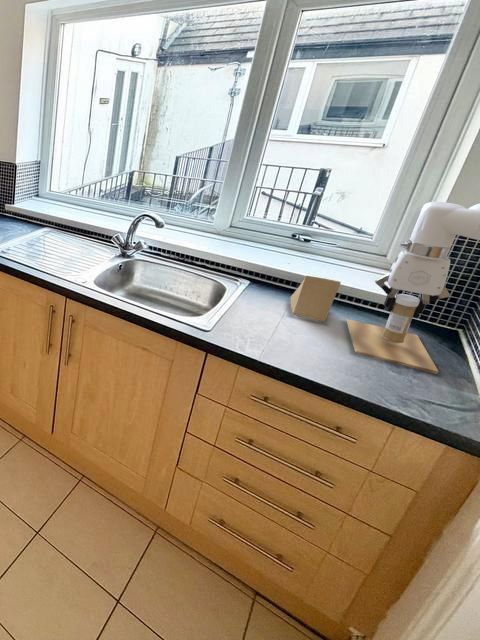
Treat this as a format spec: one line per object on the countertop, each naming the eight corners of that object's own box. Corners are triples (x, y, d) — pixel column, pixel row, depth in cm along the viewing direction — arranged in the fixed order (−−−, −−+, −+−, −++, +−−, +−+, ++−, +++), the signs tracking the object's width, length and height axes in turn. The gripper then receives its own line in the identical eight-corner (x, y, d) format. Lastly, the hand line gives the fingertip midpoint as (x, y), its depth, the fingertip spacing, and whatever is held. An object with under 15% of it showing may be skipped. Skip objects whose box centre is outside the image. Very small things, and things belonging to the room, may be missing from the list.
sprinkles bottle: (407, 342, 116) (425, 299, 111) (394, 345, 115) (412, 301, 110) (388, 334, 120) (404, 292, 115) (376, 336, 119) (392, 294, 114)
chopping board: (415, 339, 123) (417, 334, 123) (436, 376, 106) (438, 371, 106) (344, 323, 132) (346, 318, 131) (354, 355, 115) (355, 350, 115)
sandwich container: (319, 304, 143) (334, 264, 137) (324, 325, 131) (341, 282, 125) (288, 298, 147) (302, 258, 141) (291, 317, 135) (306, 275, 129)
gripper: (385, 247, 111) (362, 308, 117) (480, 261, 101) (449, 327, 108) (380, 240, 116) (358, 299, 123) (469, 252, 107) (440, 315, 114)
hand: (401, 311), depth 115 cm, fingers closed on sprinkles bottle, 4 cm apart
